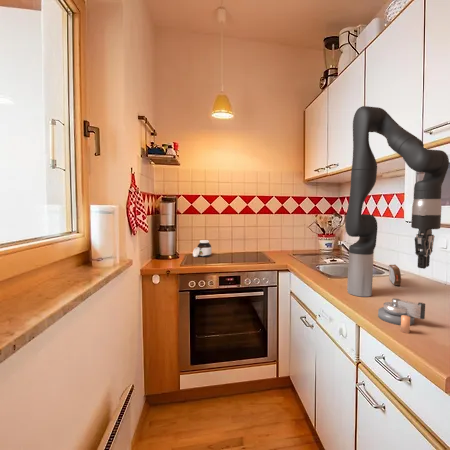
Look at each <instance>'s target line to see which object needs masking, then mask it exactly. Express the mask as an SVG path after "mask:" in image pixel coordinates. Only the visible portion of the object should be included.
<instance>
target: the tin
mask: <svg viewBox="0 0 450 450" xmlns="http://www.w3.org/2000/svg"><path fill="white" fill-rule="evenodd" d="M401 274H402V273H401V270H400V268H399V267H398V266H397V265H396V264H389V265H388V279H389V281H390V283H391V284H392V285H393V286H399V287H401V284H402V275H401Z"/></svg>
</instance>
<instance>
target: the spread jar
mask: <svg viewBox="0 0 450 450" xmlns="http://www.w3.org/2000/svg"><path fill="white" fill-rule="evenodd" d="M212 250H213V249H212V244H211V243H210V240H208V239H200V240H199V243H198V244H197V246H196V247H194V249H193V251H192V257H194V258H198V257H200V258H208V257H209V258H210V256H211V255H212V252H213V251H212Z"/></svg>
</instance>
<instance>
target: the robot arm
mask: <svg viewBox="0 0 450 450" xmlns="http://www.w3.org/2000/svg"><path fill="white" fill-rule="evenodd" d="M370 133H377V134H379V135H381V136H383V137H384V138H385V139H386V143H387V144H388V146H389V147H390V148H391V150H392V151H393V152H395V153H397V154H398V155H399V156H400V157H401V158H402V159H403V161H404V162H405V163H406V165H407V166H408V168H410V169H412V170H413V171H414V172H417V173H424V175H423V179H422V180H419V181H417V182H415V184H414V187H413V201H412V207H411V221H410V222H411V225H410V226H411V228H412V229H416V230H417V229H418V231H417V233H416V234H415V235H416V237H414V249H415V252H414V254H415V255H416V257H417V268H418V269H424V270H426V269H427V268H428V267H430V261H431V260H430V258H431V257H430V256H431V254H432V253H433V248H434V241H435V235H434V234H433V231H432V230H440V229H441V225H442V224H441V220H442V186H443V183H444V180H445V179H446V175H447V172H448V168H449V165H450V161H449V160H450V159H449V156H448V154H447V152H445V151H444V150H439V149H430V148H429V149H428V148H425V147H424V142H423V141H422V140H421V139H420V138H419V137H417V136H415V135H414V134H412V133H411V132H409V131H408V130H407V129H405V128H404V127H402V126H401V125H400V124H399V123H398V122H396V121H395V119H394V118H393V117H392V116H391V115H390V114H389V113H388V112H387V111H386V110H385V109H383V108H382V107H379V106H378V107H377V106H369V105H368V106H367V105H362V106H360V107H359V108H357V110H356V111H355V113H354V115H353V120H352V162H351V163H352V165H351V173H350V174H351V175H350V189H349V199H348V206H347V210H346V211H347V212H346V217H345V226H344V227H345V232H346V234H347V235H348V236H349V237H352V238H353V237H354V238H357V237H359V238H358V240H357V241H356V242H354V243H352V244H350V245H349V247H348V265H347V266H348V268H347V286H346V287H347V293H348V294H350V295H353V296H355V297H371V296H373V276H374V252H375V249H376V245H377V236H378V221H377V218H376V217H375V216H374V215H373V214H366V213H364V214H362V210H363V206H364V203H365V201H366V198H367V197H368V196H369V194H370V193H371V191H372V189H373V188H374V187H375V185H376V183H377V175H378V163H377V159H376V157H375V155H374V153H373V150H372V148H371V146H370Z"/></svg>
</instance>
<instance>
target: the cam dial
mask: <svg viewBox="0 0 450 450" xmlns="http://www.w3.org/2000/svg"><path fill="white" fill-rule="evenodd" d="M383 307H384V311H385V312H387V313H389V314H393V315H398V316H401V315H407V316H411V317H414V319H415V318H416V319H420V320H425V318H426V316H425V315H426V303H423V302H412V301H408V300H405V299H399V298H396V297H393V298H392V299H391V301H385V302H383Z"/></svg>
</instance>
